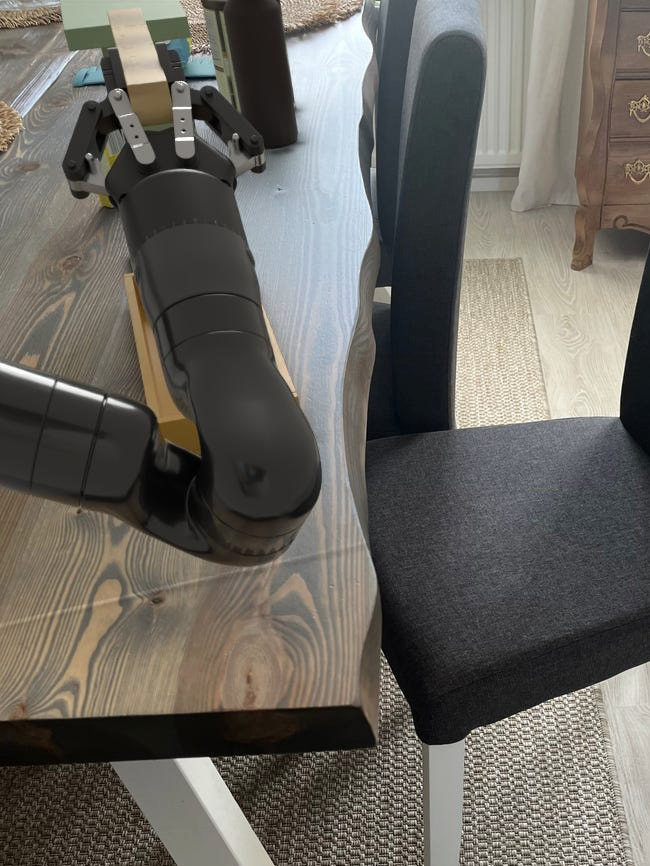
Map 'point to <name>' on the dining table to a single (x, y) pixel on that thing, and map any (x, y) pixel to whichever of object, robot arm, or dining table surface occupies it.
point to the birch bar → (141, 67)
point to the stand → (91, 28)
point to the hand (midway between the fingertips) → (139, 55)
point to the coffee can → (224, 50)
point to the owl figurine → (178, 44)
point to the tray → (153, 379)
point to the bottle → (261, 69)
